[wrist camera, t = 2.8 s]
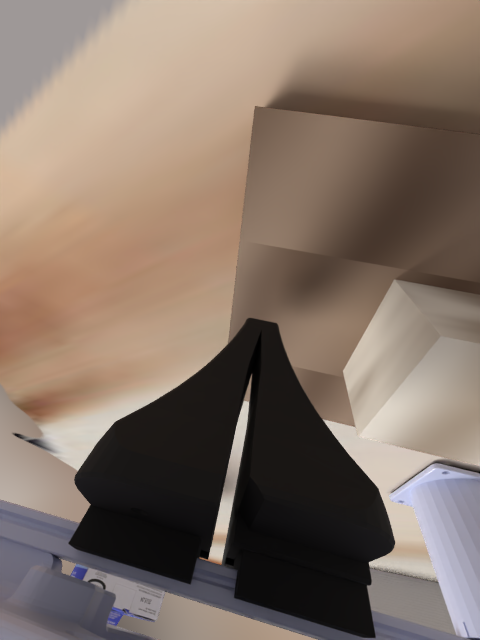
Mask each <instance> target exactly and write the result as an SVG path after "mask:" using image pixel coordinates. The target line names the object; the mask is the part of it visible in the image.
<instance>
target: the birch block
mask: <svg viewBox="0 0 480 640" xmlns="http://www.w3.org/2000/svg"><path fill="white" fill-rule="evenodd" d="M343 374H344V378H345V383H346V387H347V391H348V396H349V400H350V404H351V409H352V413H353V418H354V422H355V426H356V431H357V435H358V437H361V438H365V439H369V440H373V441H377V442H382V443H386V444H390V445H394V446H398V447H402V448H406V449H411V450H415V451H419V452H423V453H427V454H431V455H435V456H440V457H444V458H448V459H452V460H456V461H460V462H464V463H469V464H473V465H477V466H480V295H478V294H473V293H467V292H462V291H456V290H451V289H445V288H440V287H434V286H428V285H423V284H417V283H412V282H406V281H401V280H395V279H394V281H393V283H392V285H391V286H390V288H389V290H388V292H387V293H386V295H385V297H384V299H383V301H382V302H381V304H380V306H379V308H378V309H377V311H376V313H375V315H374V317H373V318H372V320H371V322H370V324H369V325H368V327H367V329H366V331H365V333H364V334H363V336H362V338H361V340H360V341H359V343H358V345H357V347H356V349H355V350H354V352H353V354H352V356H351V358H350V359H349V361H348V363H347V365H346V366H345V368H344V370H343Z"/></svg>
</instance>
